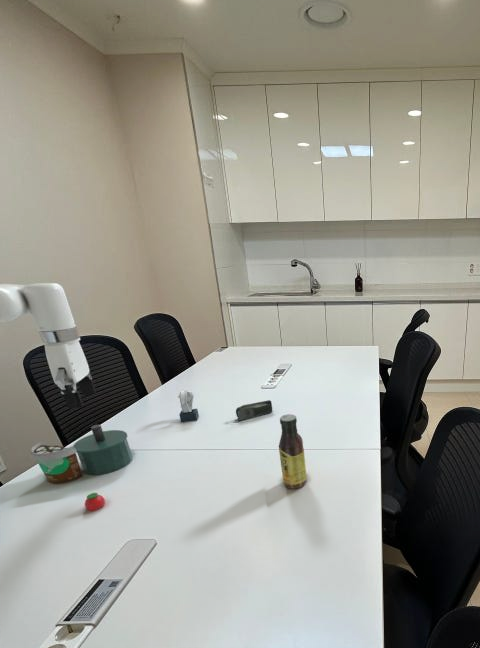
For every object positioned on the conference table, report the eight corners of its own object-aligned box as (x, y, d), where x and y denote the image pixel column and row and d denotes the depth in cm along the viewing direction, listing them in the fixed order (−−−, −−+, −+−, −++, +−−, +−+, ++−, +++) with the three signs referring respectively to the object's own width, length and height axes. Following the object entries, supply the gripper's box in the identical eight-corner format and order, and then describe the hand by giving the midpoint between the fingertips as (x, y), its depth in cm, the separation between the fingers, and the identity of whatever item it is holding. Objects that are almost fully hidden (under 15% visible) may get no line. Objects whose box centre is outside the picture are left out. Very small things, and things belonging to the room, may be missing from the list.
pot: (77, 478, 109) (68, 455, 106) (92, 457, 120) (84, 436, 117) (126, 470, 112) (119, 447, 109) (136, 450, 123) (130, 429, 120)
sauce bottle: (282, 479, 106) (273, 413, 98) (305, 475, 108) (297, 409, 100) (285, 492, 100) (276, 423, 92) (309, 487, 102) (302, 419, 94)
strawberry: (85, 517, 93) (79, 501, 91) (91, 507, 97) (85, 492, 95) (104, 513, 94) (98, 498, 92) (109, 504, 98) (104, 489, 96)
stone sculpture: (199, 414, 149) (193, 387, 145) (196, 422, 142) (189, 394, 138) (184, 415, 148) (177, 388, 144) (179, 424, 141) (172, 396, 137)
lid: (66, 458, 106) (59, 440, 103) (83, 437, 117) (77, 420, 115) (121, 450, 109) (115, 432, 107) (132, 430, 121) (127, 414, 119)
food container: (31, 483, 107) (16, 452, 103) (52, 472, 113) (39, 441, 109) (66, 488, 104) (53, 456, 100) (86, 476, 110) (74, 445, 106)
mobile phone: (269, 398, 149) (230, 407, 141) (272, 400, 147) (233, 409, 139) (270, 410, 151) (232, 420, 143) (274, 412, 149) (235, 422, 141)
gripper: (57, 330, 102) (79, 391, 109) (24, 345, 87) (52, 415, 93) (90, 328, 104) (109, 388, 111) (63, 342, 88) (87, 411, 95)
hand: (83, 400), depth 102 cm, fingers open, 9 cm apart
